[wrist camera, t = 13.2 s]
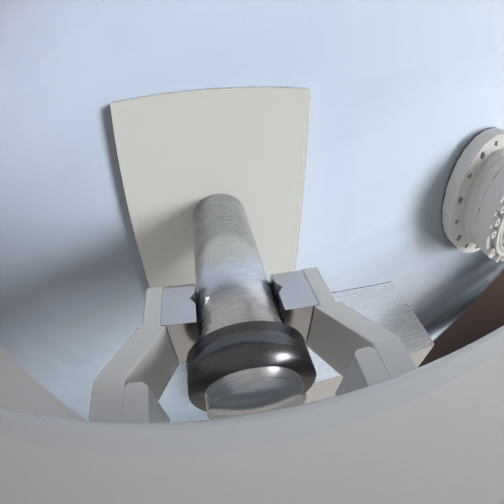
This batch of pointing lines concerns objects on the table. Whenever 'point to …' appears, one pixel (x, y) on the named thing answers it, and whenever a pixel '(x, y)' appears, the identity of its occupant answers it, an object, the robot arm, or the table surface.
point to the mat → (212, 170)
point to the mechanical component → (477, 197)
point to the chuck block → (383, 313)
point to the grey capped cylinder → (240, 323)
